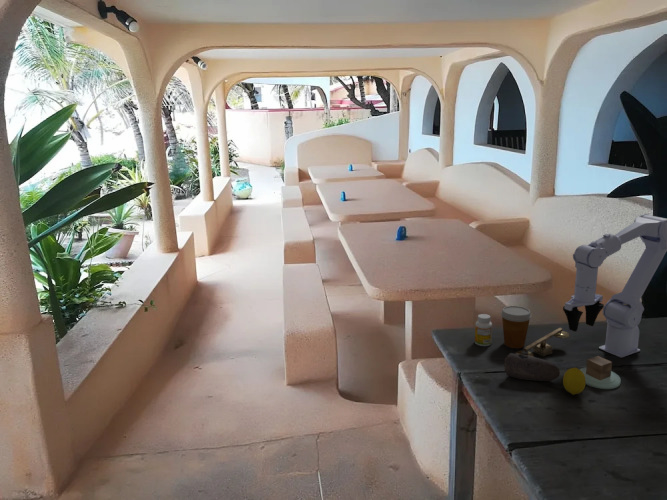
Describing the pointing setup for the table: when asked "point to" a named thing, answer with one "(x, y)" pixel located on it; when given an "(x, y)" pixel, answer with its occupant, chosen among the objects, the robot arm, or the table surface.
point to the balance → (543, 344)
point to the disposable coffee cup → (515, 325)
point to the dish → (602, 381)
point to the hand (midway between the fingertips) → (581, 327)
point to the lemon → (574, 381)
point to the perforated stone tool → (530, 368)
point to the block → (598, 367)
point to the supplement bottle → (483, 330)
